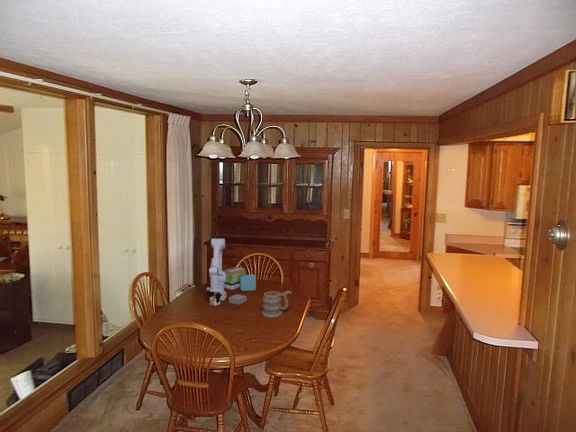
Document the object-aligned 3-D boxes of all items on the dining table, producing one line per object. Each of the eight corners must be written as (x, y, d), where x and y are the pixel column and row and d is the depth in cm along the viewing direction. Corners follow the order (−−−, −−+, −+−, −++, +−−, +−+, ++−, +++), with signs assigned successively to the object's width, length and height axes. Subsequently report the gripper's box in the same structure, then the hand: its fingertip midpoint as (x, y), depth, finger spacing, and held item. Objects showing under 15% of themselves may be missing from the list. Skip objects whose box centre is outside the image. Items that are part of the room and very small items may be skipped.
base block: (228, 302, 299) (228, 297, 298) (236, 299, 307) (236, 294, 306) (238, 305, 294) (238, 299, 294) (246, 301, 302) (246, 296, 301)
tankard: (264, 318, 269) (264, 295, 267) (260, 311, 281) (260, 290, 279) (294, 315, 275) (294, 293, 273) (289, 308, 287) (289, 287, 285)
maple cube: (210, 304, 295) (209, 297, 294) (215, 302, 299) (214, 295, 298) (215, 305, 292) (215, 298, 291) (220, 303, 296) (219, 297, 295)
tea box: (232, 290, 327) (232, 272, 325) (223, 287, 333) (223, 270, 331) (245, 285, 339) (245, 268, 337) (236, 283, 345) (236, 266, 343)
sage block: (217, 299, 305) (217, 293, 304) (219, 297, 310) (219, 291, 309) (223, 300, 304) (223, 293, 303) (226, 298, 308) (226, 291, 308)
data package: (255, 288, 332) (255, 274, 330) (255, 290, 327) (255, 275, 326) (240, 289, 329) (240, 274, 328) (240, 291, 325) (240, 276, 324)
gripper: (203, 283, 294) (203, 301, 296) (218, 286, 286) (218, 305, 288) (210, 280, 300) (210, 298, 302) (225, 284, 292) (225, 302, 294)
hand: (215, 301), depth 295 cm, fingers closed on maple cube, 5 cm apart
